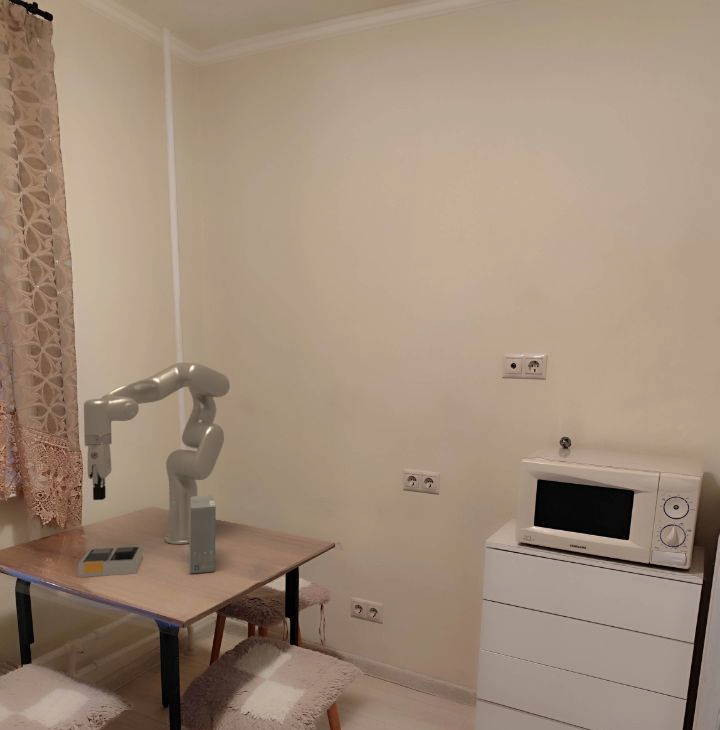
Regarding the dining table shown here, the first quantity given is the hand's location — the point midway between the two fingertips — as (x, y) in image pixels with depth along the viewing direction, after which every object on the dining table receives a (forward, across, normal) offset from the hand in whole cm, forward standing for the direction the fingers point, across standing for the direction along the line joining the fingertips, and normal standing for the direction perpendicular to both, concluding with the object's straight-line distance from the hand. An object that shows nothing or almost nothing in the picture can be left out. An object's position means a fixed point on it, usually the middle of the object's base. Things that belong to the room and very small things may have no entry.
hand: (99, 499), depth 176 cm
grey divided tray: (+21, 0, -3) cm, 22 cm away
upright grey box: (+20, 0, 0) cm, 21 cm away
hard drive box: (+22, -3, -30) cm, 37 cm away
